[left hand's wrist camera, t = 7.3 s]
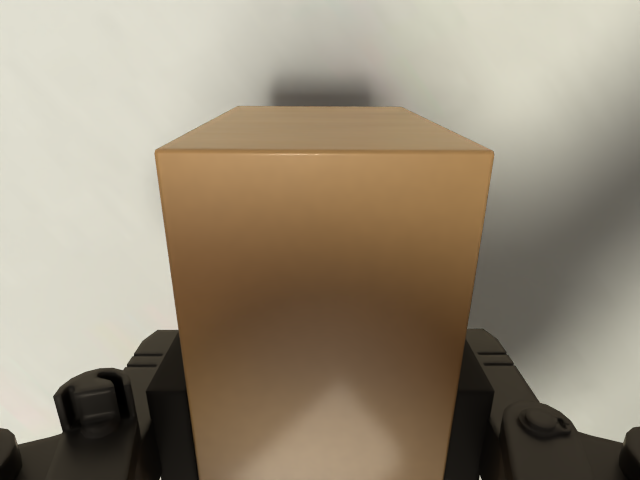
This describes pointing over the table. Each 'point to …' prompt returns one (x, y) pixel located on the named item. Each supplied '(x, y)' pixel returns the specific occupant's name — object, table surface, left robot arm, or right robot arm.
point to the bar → (322, 288)
